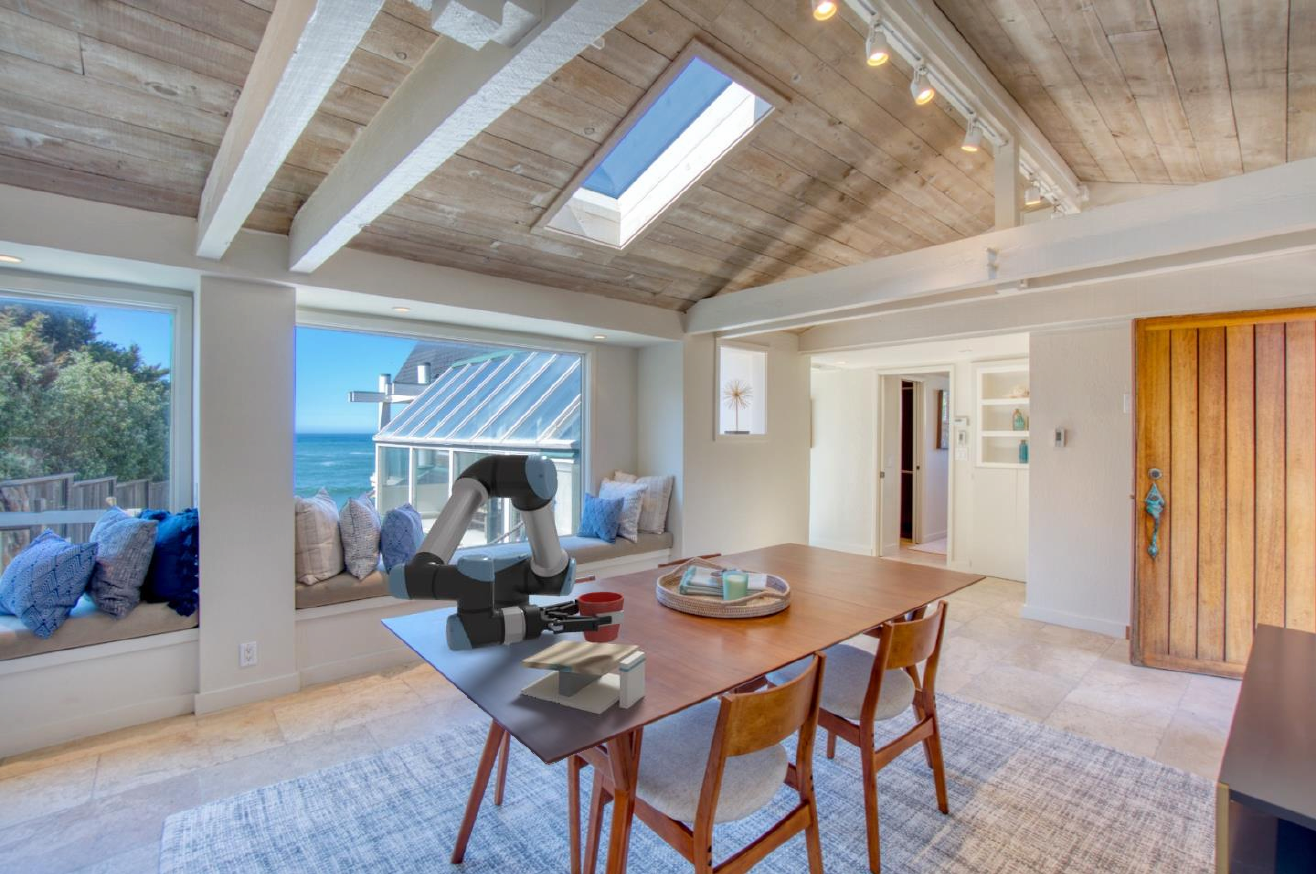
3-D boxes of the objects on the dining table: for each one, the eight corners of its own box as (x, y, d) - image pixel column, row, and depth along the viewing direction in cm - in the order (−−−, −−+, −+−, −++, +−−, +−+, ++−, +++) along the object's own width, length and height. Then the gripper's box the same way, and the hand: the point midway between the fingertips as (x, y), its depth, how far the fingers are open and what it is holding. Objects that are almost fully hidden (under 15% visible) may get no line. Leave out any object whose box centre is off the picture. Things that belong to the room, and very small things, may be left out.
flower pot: (578, 631, 145) (578, 591, 145) (623, 630, 146) (623, 590, 146) (576, 646, 134) (576, 603, 134) (624, 645, 135) (625, 602, 135)
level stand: (520, 693, 140) (521, 651, 140) (566, 667, 156) (566, 629, 156) (615, 718, 128) (615, 672, 128) (655, 687, 144) (655, 645, 144)
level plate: (521, 667, 141) (521, 661, 141) (563, 646, 155) (562, 640, 155) (603, 676, 130) (602, 669, 130) (639, 652, 144) (639, 645, 144)
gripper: (508, 626, 141) (596, 614, 151) (535, 657, 121) (634, 640, 131) (508, 594, 141) (596, 584, 151) (535, 620, 121) (634, 606, 131)
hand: (614, 610), depth 141 cm, fingers closed on flower pot, 10 cm apart
